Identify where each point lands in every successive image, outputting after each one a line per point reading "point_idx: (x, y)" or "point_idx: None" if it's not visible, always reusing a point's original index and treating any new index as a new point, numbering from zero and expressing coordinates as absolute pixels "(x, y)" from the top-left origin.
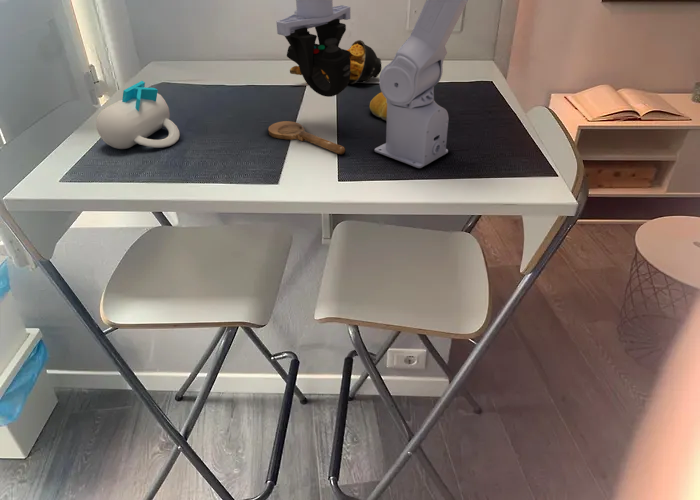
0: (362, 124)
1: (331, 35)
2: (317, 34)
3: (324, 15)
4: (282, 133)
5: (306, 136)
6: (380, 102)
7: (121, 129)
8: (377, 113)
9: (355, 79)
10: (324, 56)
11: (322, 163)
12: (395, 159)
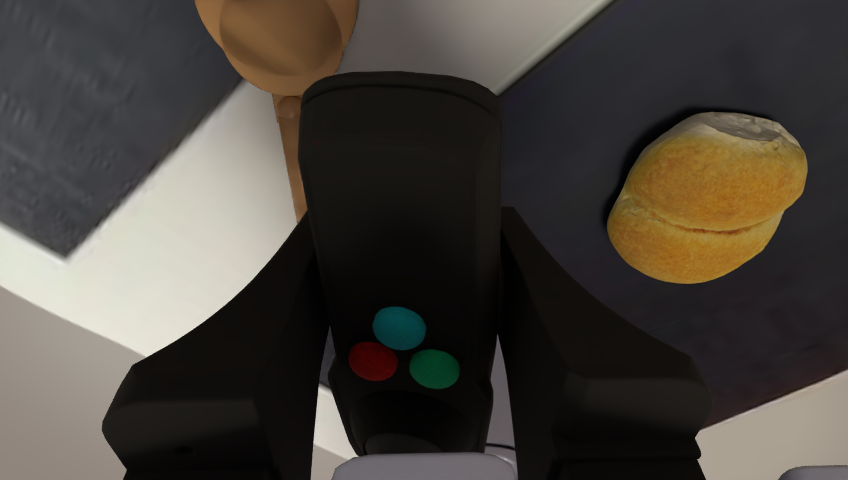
0: (547, 167)
1: (521, 447)
2: (542, 332)
3: None
4: (230, 40)
5: (283, 147)
6: (662, 205)
7: None
8: (627, 185)
9: None
10: (352, 420)
11: (240, 258)
12: None
